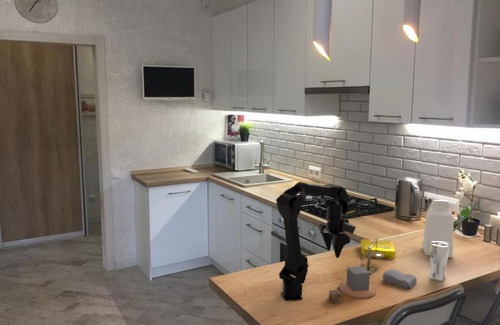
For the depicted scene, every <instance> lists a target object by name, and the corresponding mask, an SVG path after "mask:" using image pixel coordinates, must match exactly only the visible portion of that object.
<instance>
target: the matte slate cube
mask: <svg viewBox="0 0 500 325" xmlns="http://www.w3.org/2000/svg"><path fill="white" fill-rule="evenodd" d="M370 278H371V275H370V272H368V271H367V270H366V269H365V268H364V266H363V265H362V266H361V265H360V266H350V267H349V266H347V267H346V280H347V283H346V284H347V285H348V286H349V287H350V289H351V290H352V291H365V290H369V283H370Z"/></svg>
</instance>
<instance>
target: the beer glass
mask: <svg viewBox="0 0 500 325" xmlns="http://www.w3.org/2000/svg"><path fill="white" fill-rule="evenodd" d="M448 259H449V257H448V244H447V243H444V242H440V241H434V242H431V248H430V256H429V260H430V262H429V263H430V272H429V275H428V276H429V279H430V280H432V281H435V280H436V281H435V282H444V281H445V280H446V275H445V274H446V272H445V271H446V268H447V263H448Z"/></svg>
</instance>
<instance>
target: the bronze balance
mask: <svg viewBox="0 0 500 325" xmlns="http://www.w3.org/2000/svg"><path fill="white" fill-rule="evenodd" d="M373 240H374V242H373V243H372V244H371V246H370V247H368V250H367V251H366V252H365V254H364V255H363V256H362V255H361V257H360V260H361V263H360V267H361V266H362V267H364V268H365V269H366V270H367V271H368V272H370V276H372V275H373V274H374V273H375V272H376V271H377V270H378V266H374V265H371V259H384V258H383V257H384V254H383V253H381V252H376V251H371V248H372V247H373V246H374V244H375V243H376V249H377V240H379V239H378V238H375V239H373ZM367 254H368V257H367V264H365V265H364V266H363V260H364V259H365V258H366V257H365V256H366V255H367ZM371 257H373V258H371Z"/></svg>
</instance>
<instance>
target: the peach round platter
mask: <svg viewBox="0 0 500 325" xmlns="http://www.w3.org/2000/svg"><path fill="white" fill-rule="evenodd" d="M346 283H347V279H346V280H342V281H341V282H340V283H339V284H338V288H339V289H338V290H339V291H340V292H341V293H342V295H343V294H344V296H347V297H350V298H354V299H369V298H373V297H374V296H375V295H376V294H377V287H376V286H375V284H372V283H371V282H369V290H365V291H352V290H351V289H350V287H349V286H348V285H347V284H346Z"/></svg>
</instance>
